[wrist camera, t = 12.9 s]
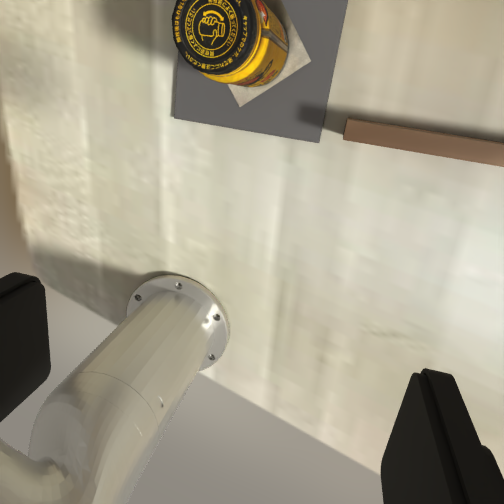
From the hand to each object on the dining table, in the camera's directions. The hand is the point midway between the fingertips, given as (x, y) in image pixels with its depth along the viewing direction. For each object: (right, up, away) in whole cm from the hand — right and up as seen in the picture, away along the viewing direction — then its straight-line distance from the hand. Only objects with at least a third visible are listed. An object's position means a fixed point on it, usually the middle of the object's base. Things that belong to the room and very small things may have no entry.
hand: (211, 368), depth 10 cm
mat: (+1, +21, +25) cm, 32 cm away
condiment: (+1, +21, +24) cm, 32 cm away
